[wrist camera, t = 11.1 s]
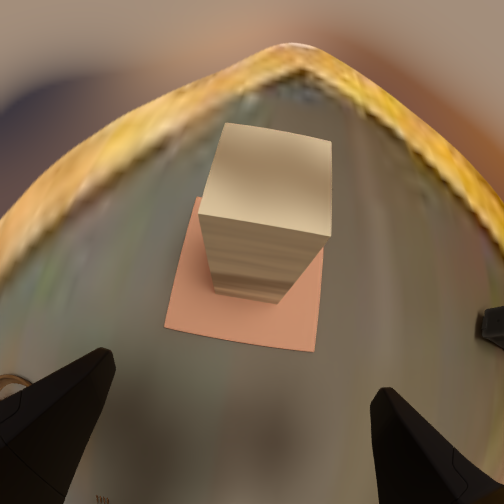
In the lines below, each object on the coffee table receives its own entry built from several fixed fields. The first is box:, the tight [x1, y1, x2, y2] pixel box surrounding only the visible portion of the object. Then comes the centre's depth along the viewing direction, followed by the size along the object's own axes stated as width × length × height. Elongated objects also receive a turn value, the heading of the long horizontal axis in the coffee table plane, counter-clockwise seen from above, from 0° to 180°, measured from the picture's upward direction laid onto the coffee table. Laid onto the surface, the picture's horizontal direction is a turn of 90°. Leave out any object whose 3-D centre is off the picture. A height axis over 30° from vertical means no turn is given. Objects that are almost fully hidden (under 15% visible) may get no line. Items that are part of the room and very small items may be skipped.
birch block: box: [198, 123, 332, 304], centre depth 17 cm, size 5×5×13 cm
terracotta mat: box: [164, 197, 324, 352], centre depth 23 cm, size 12×12×1 cm
